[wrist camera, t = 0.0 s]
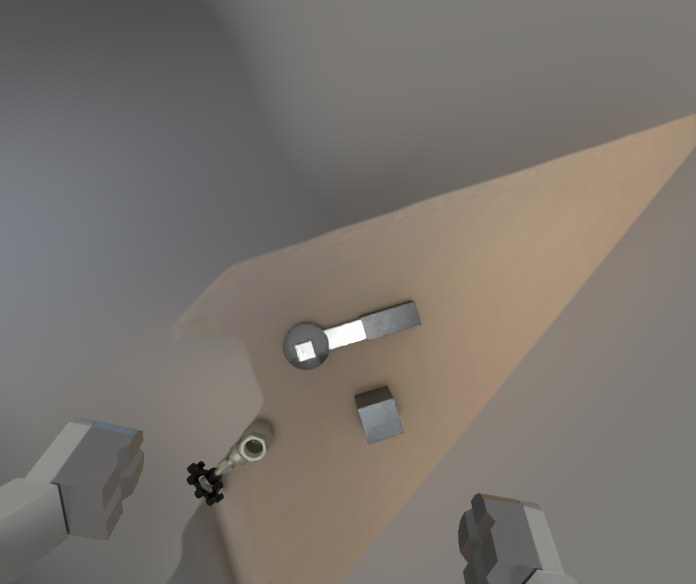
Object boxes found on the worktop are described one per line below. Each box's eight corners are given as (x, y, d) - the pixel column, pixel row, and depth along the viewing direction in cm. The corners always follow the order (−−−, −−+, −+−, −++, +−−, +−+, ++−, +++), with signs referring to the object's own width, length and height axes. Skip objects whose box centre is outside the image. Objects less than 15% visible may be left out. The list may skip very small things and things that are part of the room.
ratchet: (420, 331, 66) (429, 338, 60) (292, 370, 65) (289, 381, 59) (408, 290, 66) (416, 292, 60) (279, 329, 65) (275, 335, 59)
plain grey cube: (396, 417, 66) (403, 433, 60) (364, 427, 66) (368, 444, 60) (386, 385, 66) (393, 398, 60) (354, 395, 66) (358, 409, 60)
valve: (256, 405, 65) (194, 457, 65) (248, 420, 59) (179, 479, 59) (285, 438, 66) (223, 490, 66) (281, 457, 59) (212, 515, 59)
